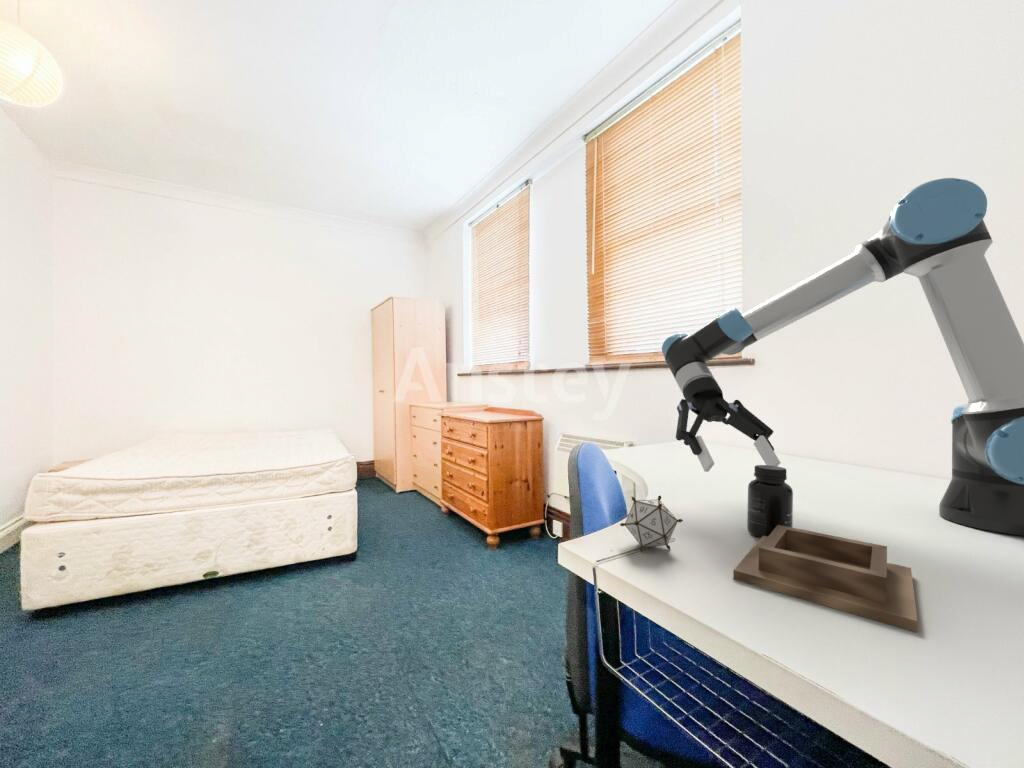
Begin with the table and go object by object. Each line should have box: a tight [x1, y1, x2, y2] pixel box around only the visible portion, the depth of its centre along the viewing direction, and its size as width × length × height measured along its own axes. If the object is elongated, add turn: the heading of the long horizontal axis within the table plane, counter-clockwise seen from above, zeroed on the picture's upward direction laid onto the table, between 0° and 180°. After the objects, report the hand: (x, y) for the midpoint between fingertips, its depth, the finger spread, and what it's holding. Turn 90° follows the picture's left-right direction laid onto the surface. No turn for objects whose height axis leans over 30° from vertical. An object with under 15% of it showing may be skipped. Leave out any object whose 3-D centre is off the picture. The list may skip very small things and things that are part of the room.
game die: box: [619, 495, 684, 551], centre depth 68 cm, size 9×8×10 cm
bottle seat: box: [732, 525, 918, 633], centre depth 58 cm, size 18×18×4 cm
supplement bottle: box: [746, 464, 794, 539], centre depth 74 cm, size 7×7×12 cm
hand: (742, 467), depth 80 cm, fingers open, 13 cm apart
